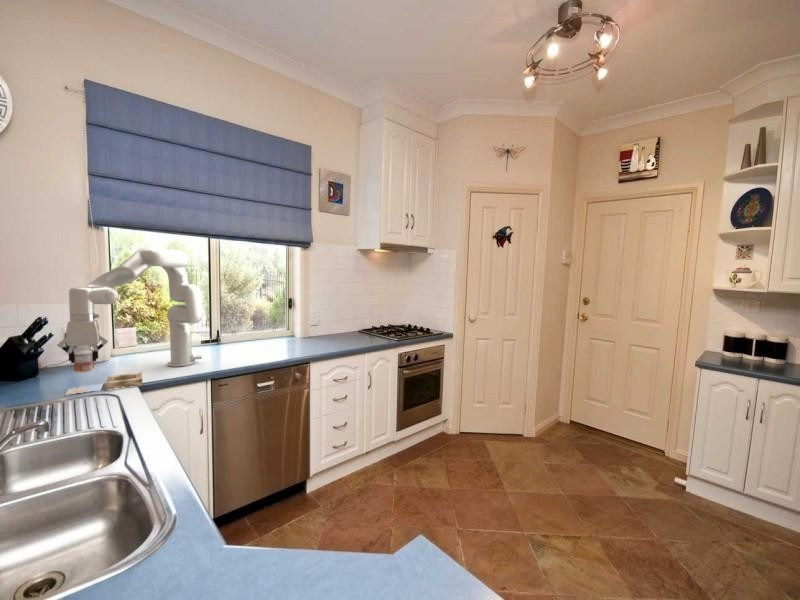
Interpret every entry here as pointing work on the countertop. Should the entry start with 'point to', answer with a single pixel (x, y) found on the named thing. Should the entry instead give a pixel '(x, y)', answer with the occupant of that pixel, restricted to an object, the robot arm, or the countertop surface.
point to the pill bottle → (83, 359)
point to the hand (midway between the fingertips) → (84, 361)
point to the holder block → (124, 380)
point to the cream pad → (76, 390)
